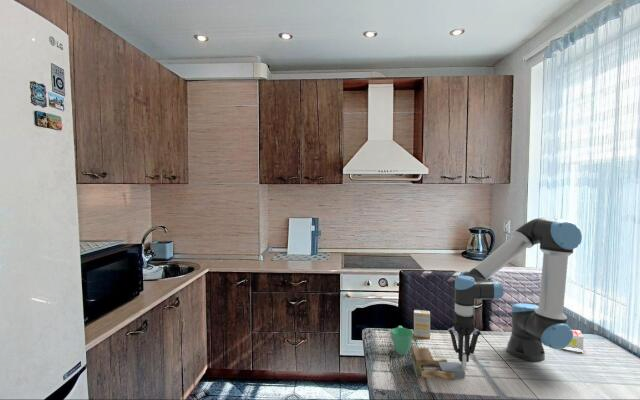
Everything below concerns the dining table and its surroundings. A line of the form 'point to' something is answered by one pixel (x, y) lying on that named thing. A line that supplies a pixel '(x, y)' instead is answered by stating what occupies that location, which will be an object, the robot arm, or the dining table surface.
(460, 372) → the tile
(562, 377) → the dining table surface
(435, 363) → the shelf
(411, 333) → the green pitcher
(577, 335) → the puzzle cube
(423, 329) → the supplement box
